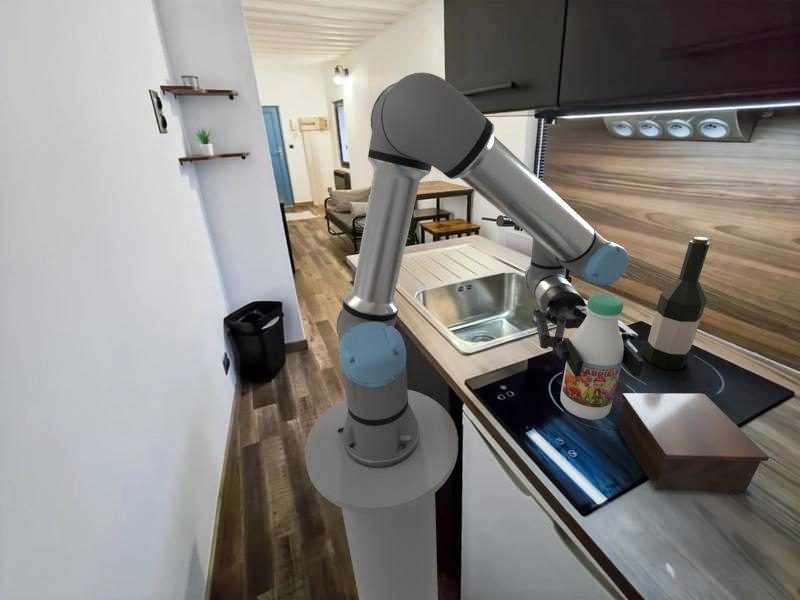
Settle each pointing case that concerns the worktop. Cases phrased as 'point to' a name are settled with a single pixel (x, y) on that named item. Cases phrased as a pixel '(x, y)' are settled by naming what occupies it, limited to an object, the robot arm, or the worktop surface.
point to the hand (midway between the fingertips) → (608, 368)
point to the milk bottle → (595, 360)
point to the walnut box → (687, 443)
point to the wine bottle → (679, 312)
